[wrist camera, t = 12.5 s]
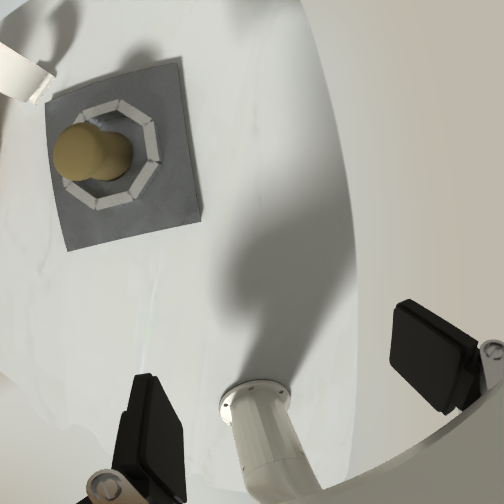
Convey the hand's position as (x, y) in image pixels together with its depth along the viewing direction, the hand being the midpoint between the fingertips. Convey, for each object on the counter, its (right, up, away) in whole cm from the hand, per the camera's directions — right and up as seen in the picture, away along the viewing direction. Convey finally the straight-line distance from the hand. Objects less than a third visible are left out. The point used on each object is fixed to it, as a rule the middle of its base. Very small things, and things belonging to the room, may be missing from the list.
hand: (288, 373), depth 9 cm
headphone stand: (-30, +27, +15) cm, 43 cm away
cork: (-18, +15, +19) cm, 30 cm away
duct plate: (-18, +16, +20) cm, 31 cm away
